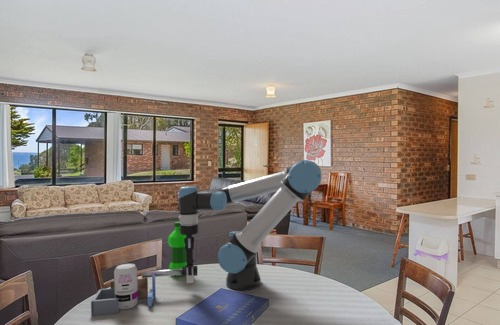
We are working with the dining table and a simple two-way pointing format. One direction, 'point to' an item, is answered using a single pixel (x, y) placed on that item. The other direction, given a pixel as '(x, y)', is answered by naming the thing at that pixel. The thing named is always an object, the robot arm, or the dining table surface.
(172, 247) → the plastic bottle
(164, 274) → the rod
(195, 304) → the dining table surface
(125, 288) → the supplement can
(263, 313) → the dining table surface
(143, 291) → the brown wooden board
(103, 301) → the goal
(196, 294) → the dining table surface
